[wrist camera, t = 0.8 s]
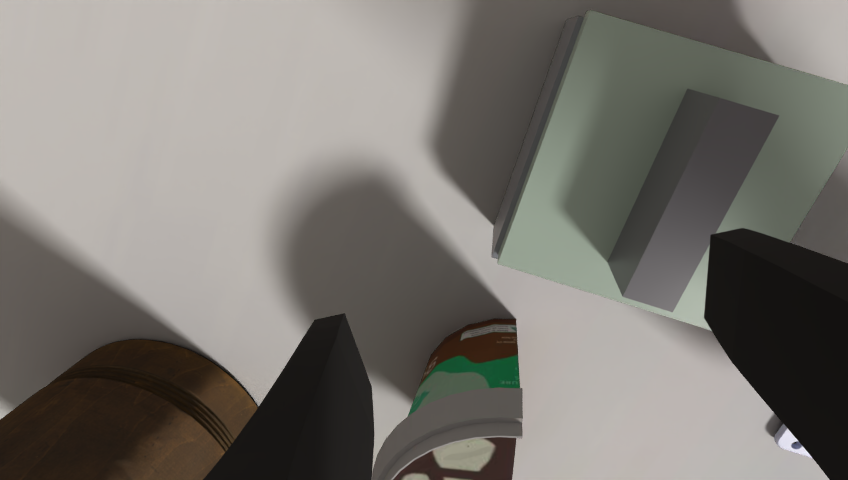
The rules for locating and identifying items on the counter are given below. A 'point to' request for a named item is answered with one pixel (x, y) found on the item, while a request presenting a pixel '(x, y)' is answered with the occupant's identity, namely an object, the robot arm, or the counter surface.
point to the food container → (461, 411)
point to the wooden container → (126, 418)
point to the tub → (535, 129)
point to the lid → (668, 164)
